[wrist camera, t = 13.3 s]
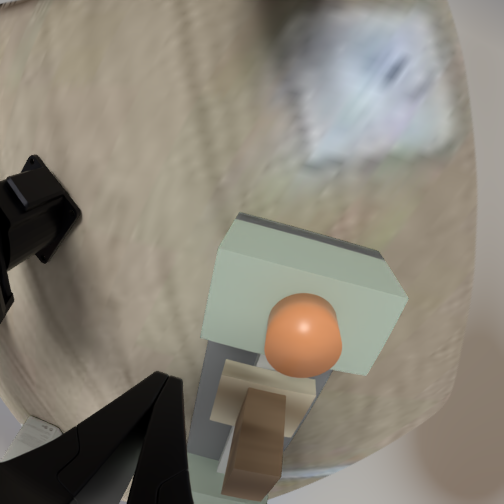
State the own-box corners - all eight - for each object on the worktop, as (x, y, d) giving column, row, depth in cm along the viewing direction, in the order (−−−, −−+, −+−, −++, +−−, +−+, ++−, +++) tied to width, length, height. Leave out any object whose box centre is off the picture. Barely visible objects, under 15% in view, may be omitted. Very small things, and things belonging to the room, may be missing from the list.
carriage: (291, 422, 21) (286, 507, 14) (213, 404, 21) (189, 489, 14) (315, 379, 19) (318, 476, 12) (226, 358, 19) (198, 455, 13)
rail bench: (259, 477, 30) (254, 519, 25) (185, 460, 31) (172, 500, 25) (378, 251, 19) (408, 298, 13) (239, 212, 19) (218, 247, 14)
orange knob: (320, 332, 17) (325, 383, 13) (263, 318, 17) (255, 368, 13) (341, 282, 16) (354, 328, 12) (280, 266, 16) (276, 309, 12)
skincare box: (30, 413, 34) (-18, 482, 19) (61, 427, 33) (13, 506, 19) (51, 444, 37) (12, 509, 22) (81, 457, 36) (44, 529, 22)
